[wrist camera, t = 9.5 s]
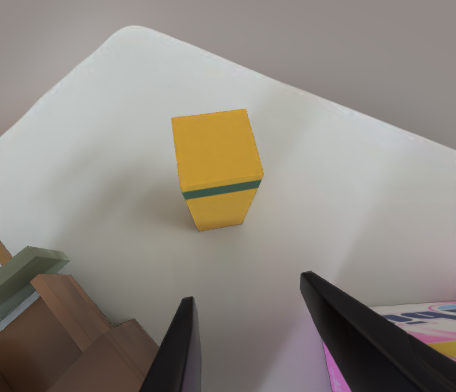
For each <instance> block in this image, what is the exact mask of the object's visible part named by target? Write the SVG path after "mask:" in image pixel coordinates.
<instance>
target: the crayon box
mask: <svg viewBox="0 0 456 392" xmlns="http://www.w3.org/2000/svg"><path fill="white" fill-rule="evenodd" d="M171 120H172V128H173V136H174V144H175V152H176V160H177V168H178V176H179V184H180V188H181V191H182V194H183V196H184V199H185V200H186V203H187V205H188V207H189V210H190V212H191V215H192V217H193V219H194V222H195V224H196V227H197V229H198V231H205V230H210V229H216V228H222V227H227V226H233V225H238V224H242V223H243V221H244V218H245V216H246V214H247V212H248V209H249V207H250V205H251V202H252V200H253V198H254V195H255V193H256V191H257V189H258V187H259V185H260V182H261V180H262V177H263V175H264V172H263V169H262V165H261V161H260V158H259V154H258V151H257V147H256V144H255V140H254V136H253V133H252V129H251V126H250V122H249V119H248V115H247V111H246V109H240V110H232V111H224V112H216V113H207V114H199V115H191V116H183V117H175V118H171Z"/></svg>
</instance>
